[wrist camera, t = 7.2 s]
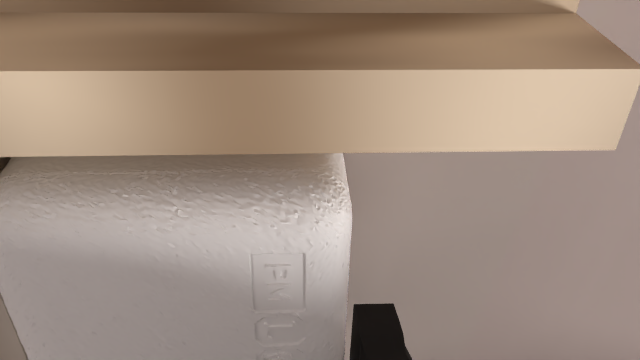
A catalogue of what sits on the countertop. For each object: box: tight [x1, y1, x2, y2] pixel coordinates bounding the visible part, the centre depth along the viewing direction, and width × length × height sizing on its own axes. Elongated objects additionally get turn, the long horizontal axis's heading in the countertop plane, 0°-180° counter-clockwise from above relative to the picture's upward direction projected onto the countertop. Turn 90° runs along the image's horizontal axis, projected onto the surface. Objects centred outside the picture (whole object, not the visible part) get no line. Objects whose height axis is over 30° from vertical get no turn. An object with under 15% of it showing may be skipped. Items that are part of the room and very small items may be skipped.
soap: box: [0, 153, 352, 360], centre depth 11 cm, size 9×6×3 cm, turn 179°
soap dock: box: [0, 0, 640, 360], centre depth 12 cm, size 10×23×2 cm, turn 179°
